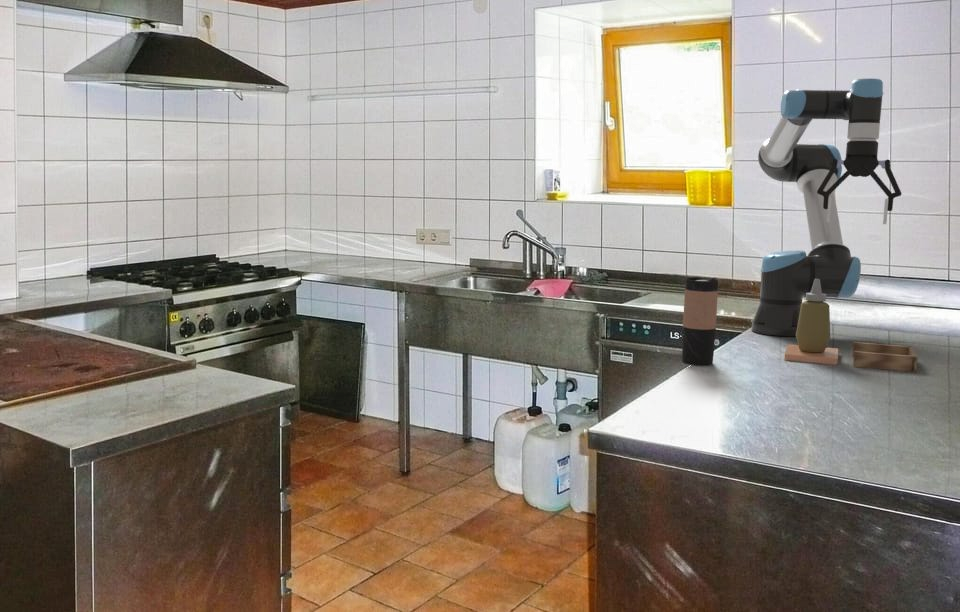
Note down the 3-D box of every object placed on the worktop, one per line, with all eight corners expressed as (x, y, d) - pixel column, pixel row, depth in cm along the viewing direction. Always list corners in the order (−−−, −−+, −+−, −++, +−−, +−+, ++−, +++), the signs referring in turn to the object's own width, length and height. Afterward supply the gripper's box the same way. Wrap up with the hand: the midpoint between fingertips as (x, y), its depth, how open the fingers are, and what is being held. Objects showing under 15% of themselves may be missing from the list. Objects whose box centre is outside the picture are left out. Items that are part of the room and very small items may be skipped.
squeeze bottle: (801, 346, 229) (806, 276, 226) (833, 351, 224) (839, 279, 221) (789, 351, 222) (794, 278, 220) (822, 355, 217) (828, 281, 215)
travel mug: (690, 366, 209) (695, 281, 206) (675, 359, 216) (679, 277, 214) (720, 365, 211) (725, 281, 208) (703, 358, 218) (708, 277, 216)
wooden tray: (853, 366, 213) (854, 351, 212) (852, 355, 226) (853, 341, 226) (916, 371, 208) (917, 357, 207) (911, 360, 221) (912, 346, 221)
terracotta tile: (784, 360, 219) (784, 354, 219) (787, 350, 232) (788, 344, 231) (837, 364, 214) (837, 358, 214) (837, 354, 227) (838, 348, 227)
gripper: (915, 141, 230) (907, 224, 234) (811, 140, 240) (805, 220, 243) (917, 140, 224) (909, 225, 227) (810, 139, 233) (805, 221, 236)
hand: (856, 223), depth 235 cm, fingers open, 13 cm apart
